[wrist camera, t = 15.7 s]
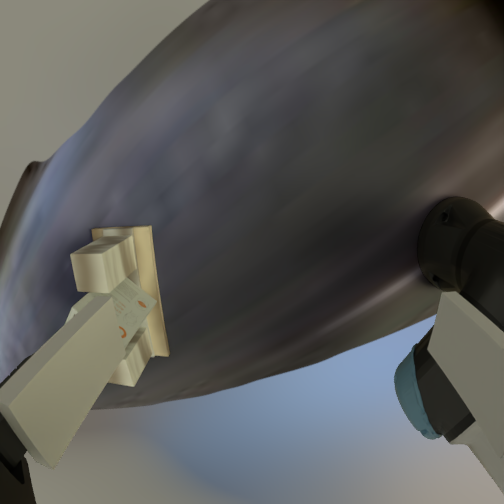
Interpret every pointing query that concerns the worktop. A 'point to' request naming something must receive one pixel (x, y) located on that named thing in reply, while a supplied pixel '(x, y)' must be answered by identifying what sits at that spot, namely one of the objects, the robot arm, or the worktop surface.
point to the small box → (123, 307)
